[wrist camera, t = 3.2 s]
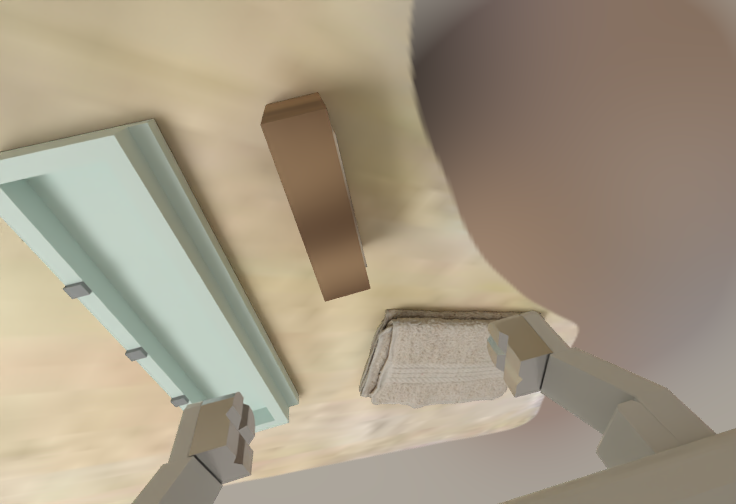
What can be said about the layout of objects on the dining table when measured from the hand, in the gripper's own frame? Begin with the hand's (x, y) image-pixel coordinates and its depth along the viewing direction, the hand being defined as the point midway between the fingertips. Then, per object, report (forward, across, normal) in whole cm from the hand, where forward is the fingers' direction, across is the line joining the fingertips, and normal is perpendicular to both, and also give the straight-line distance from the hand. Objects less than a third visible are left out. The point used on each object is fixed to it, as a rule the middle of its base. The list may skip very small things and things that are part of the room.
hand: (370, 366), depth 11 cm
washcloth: (+15, -8, +20) cm, 26 cm away
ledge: (+14, +12, +7) cm, 20 cm away
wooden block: (+14, 0, -1) cm, 14 cm away
